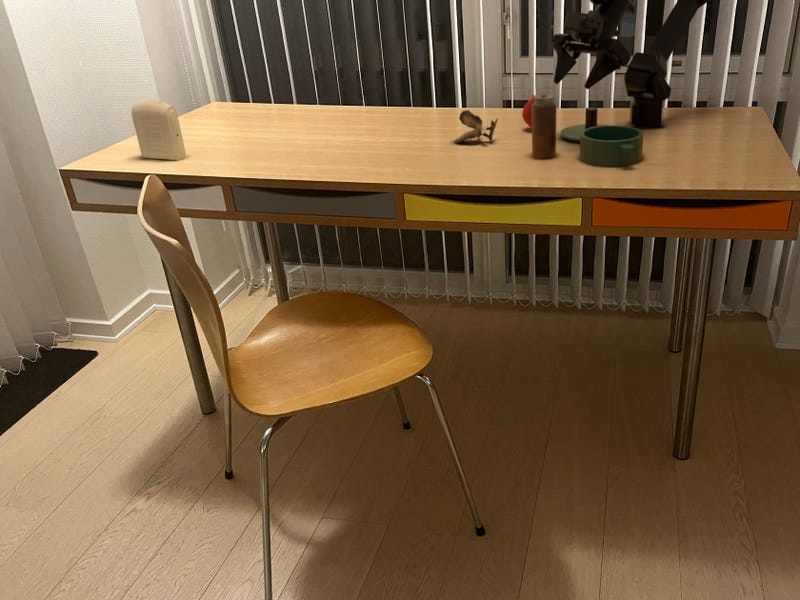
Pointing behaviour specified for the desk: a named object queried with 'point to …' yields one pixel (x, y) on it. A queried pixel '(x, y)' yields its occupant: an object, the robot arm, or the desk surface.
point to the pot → (611, 145)
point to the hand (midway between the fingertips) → (570, 85)
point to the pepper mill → (543, 127)
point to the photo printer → (158, 130)
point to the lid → (575, 130)
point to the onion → (528, 111)
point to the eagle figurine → (475, 127)
